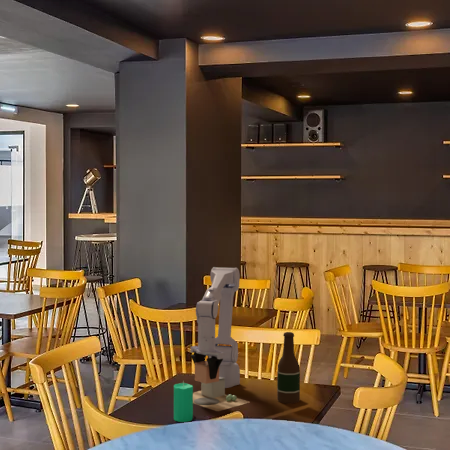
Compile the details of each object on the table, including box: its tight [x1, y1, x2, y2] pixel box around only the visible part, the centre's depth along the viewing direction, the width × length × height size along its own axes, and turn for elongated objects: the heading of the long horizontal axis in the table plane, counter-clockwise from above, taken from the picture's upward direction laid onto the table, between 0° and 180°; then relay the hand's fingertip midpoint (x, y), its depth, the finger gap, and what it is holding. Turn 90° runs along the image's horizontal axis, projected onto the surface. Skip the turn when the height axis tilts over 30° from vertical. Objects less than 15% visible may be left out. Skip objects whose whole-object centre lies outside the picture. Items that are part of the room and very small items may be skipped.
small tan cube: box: [194, 360, 219, 384], centre depth 231 cm, size 6×6×6 cm
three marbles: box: [226, 393, 238, 401], centre depth 232 cm, size 4×4×2 cm
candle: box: [173, 380, 194, 423], centre depth 215 cm, size 6×6×12 cm
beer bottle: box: [276, 331, 301, 404], centre depth 232 cm, size 8×8×24 cm
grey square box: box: [200, 376, 226, 398], centre depth 239 cm, size 6×6×6 cm
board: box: [193, 390, 251, 412], centre depth 233 cm, size 15×22×1 cm
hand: (206, 376), depth 231 cm, fingers closed on small tan cube, 6 cm apart
